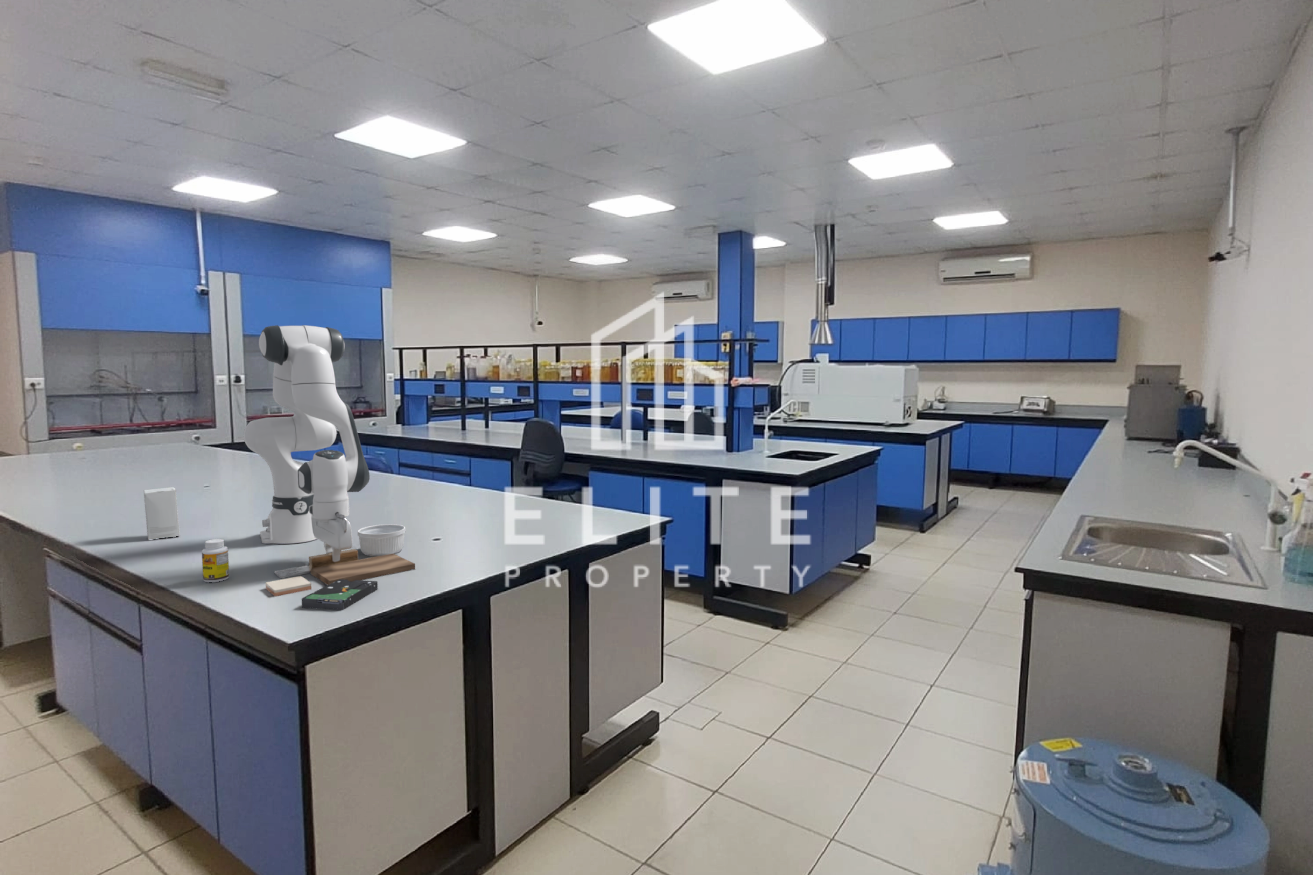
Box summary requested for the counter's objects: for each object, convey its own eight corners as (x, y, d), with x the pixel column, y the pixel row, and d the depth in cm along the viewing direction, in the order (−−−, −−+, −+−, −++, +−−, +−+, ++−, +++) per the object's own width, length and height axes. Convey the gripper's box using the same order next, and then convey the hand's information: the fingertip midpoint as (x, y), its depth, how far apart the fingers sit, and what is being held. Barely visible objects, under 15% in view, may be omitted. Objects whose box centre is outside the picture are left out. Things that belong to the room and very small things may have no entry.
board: (310, 574, 175) (310, 568, 174) (393, 558, 190) (393, 553, 190) (329, 586, 165) (329, 580, 165) (415, 569, 180) (415, 563, 180)
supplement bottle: (198, 581, 168) (196, 541, 167) (221, 575, 173) (219, 536, 172) (210, 584, 165) (208, 544, 164) (233, 578, 170) (232, 539, 169)
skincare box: (178, 533, 216) (175, 486, 215) (180, 537, 211) (177, 489, 210) (146, 537, 211) (143, 489, 210) (147, 541, 206) (144, 492, 205)
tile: (265, 582, 163) (274, 590, 157) (301, 575, 168) (311, 583, 162) (265, 590, 163) (275, 598, 157) (301, 583, 168) (311, 591, 163)
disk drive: (338, 589, 164) (300, 609, 150) (338, 578, 164) (300, 597, 150) (378, 591, 163) (344, 611, 149) (378, 580, 163) (343, 599, 148)
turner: (352, 559, 189) (352, 547, 188) (360, 563, 184) (360, 551, 184) (274, 573, 175) (273, 560, 175) (280, 578, 171) (280, 565, 170)
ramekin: (348, 555, 194) (347, 531, 193) (379, 544, 206) (378, 522, 205) (385, 559, 190) (385, 535, 189) (415, 548, 202) (414, 525, 202)
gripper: (357, 514, 176) (359, 565, 177) (330, 503, 190) (332, 550, 191) (333, 517, 171) (334, 569, 173) (306, 506, 186) (308, 554, 187)
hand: (333, 559), depth 182 cm, fingers closed on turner, 2 cm apart
